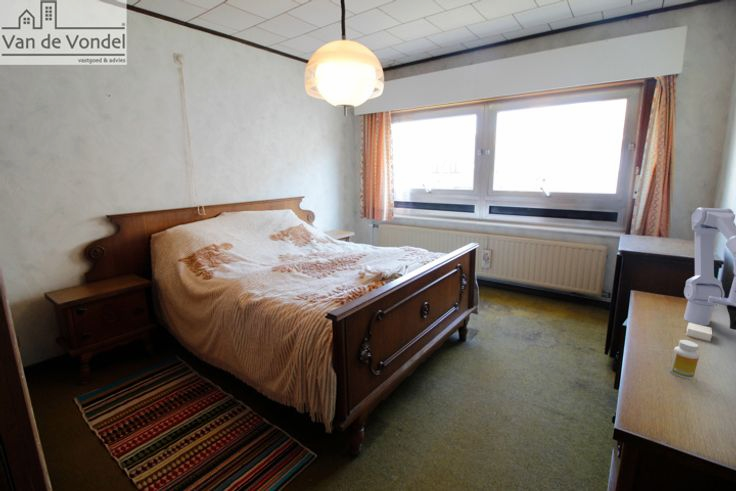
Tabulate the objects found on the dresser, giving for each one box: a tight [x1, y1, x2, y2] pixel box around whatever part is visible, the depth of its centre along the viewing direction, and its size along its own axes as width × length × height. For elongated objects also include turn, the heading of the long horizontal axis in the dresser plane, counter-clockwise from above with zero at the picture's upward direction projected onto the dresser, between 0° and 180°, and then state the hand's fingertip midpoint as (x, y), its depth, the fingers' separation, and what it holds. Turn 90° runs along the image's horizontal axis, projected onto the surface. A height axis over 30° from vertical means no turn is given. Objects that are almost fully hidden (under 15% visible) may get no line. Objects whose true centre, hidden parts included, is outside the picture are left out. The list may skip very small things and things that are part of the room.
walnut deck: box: [684, 327, 713, 343], centre depth 122 cm, size 8×7×1 cm
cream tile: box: [686, 321, 713, 342], centre depth 122 cm, size 7×6×2 cm
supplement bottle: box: [668, 339, 700, 380], centre depth 100 cm, size 5×5×10 cm
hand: (732, 328), depth 116 cm, fingers closed
